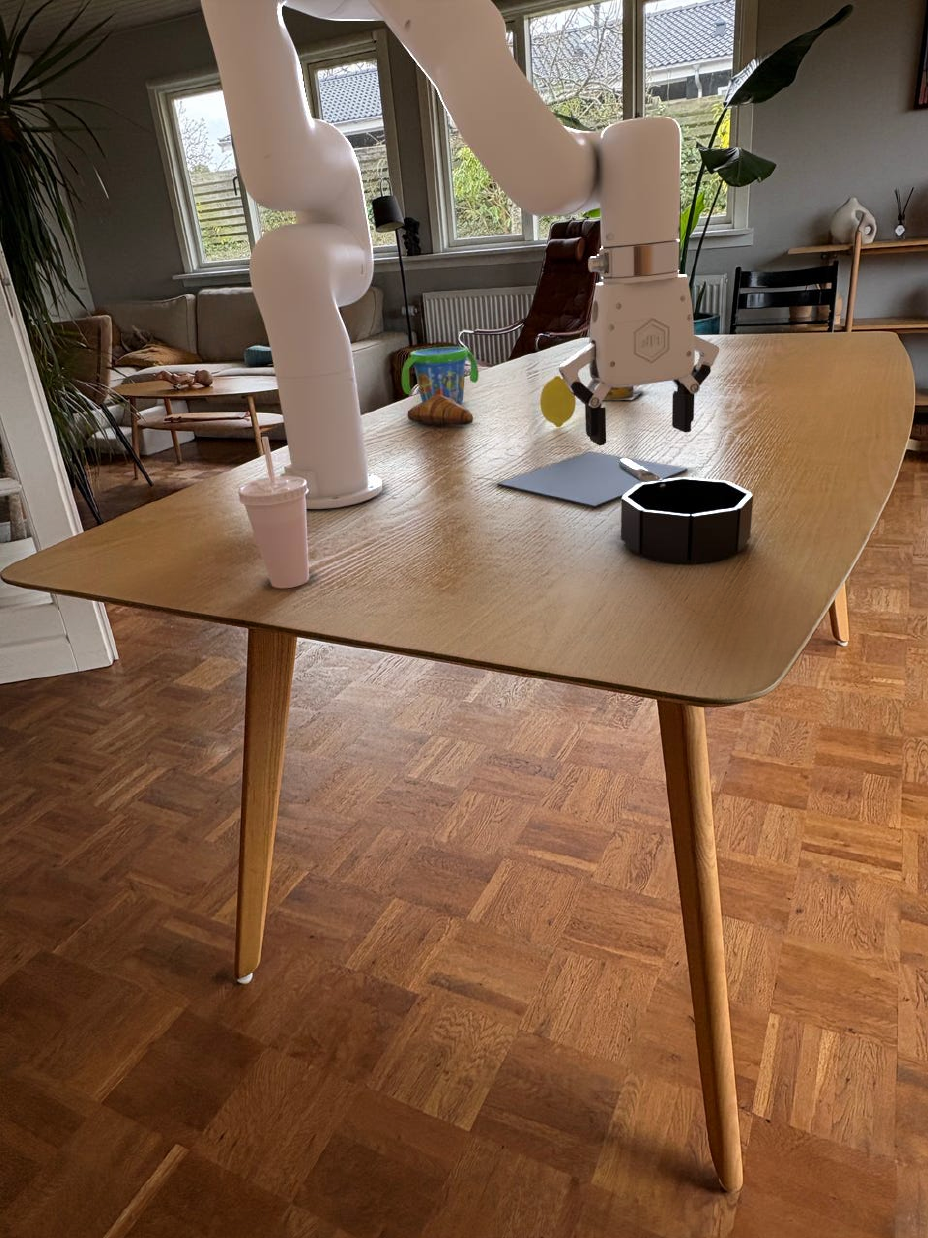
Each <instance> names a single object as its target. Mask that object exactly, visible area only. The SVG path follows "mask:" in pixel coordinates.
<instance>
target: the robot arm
mask: <svg viewBox="0 0 928 1238" xmlns="http://www.w3.org/2000/svg"><path fill="white" fill-rule="evenodd" d="M200 4H201V9H202V13H203V18H204V21H205V25H206V28H207V32H208V35H209V38H210V42H211V45H212V49H213V52H214V57H215V60H216V65H217V68H218V74H219V77H220V83H221V88H222V94H223V99H224V104H225V108H226V113H227V118H228V122H229V127H230V132H231V136H232V141H233V142H232V143H233V146H234V151H235V154H236V160H237V165H238V169H239V174H240V177H241V180H242V183H243V185H244V188H245V190H246V193H247V194H248V196H249V197H250V198H251V199H252V200H253V201H254V202H255V203H256V204H257V205H259V206H261V207H263V208H265V209H268V210H272V211H276V212H294V213H295V218H296V222H297V223H290V224H289V223H288V224H284V225H280V226H279V225H278V226H276V227H274V228H272V229H270V230H268V231H267V232H265V233H264V234H262V236H261V237H260V238H259V239H258V240H257V242H256V243H255V244H254V247H253V248H252V251H251V254H250V258H249V265H248V267H249V270H248V271H249V279H250V280H249V281H250V284H251V289H252V292H253V295H254V298H255V302H256V304H257V307H258V310H259V313H260V316H261V318H262V322H263V324H264V328H265V331H266V335H267V340H268V343H269V344H268V345H269V348H270V353H271V359H272V363H273V369H274V376H275V379H276V383H277V385H276V386H277V391H278V396H279V401H280V408H281V413H282V419H283V426H284V430H285V431H284V432H285V436H286V441H287V442H286V443H287V448H288V453H289V454H288V455H289V459H290V464H288V465H284V466H283V469H284V472H283V473H281V474H280V475H279V476H296V477H301V478H303V479H305V480H306V483H307V488H308V493H307V494H306V495H305V499H306V510H324V509H325V510H327V509H335V508H342V507H348V506H349V507H350V506H353V505H357V504H360V503H363V502H366V501H368V500H371V499H373V498H376V496H377V497H378V495H380V494H381V493H382V490H383V483H382V479H381V478H379V477H378V476H376V475H374V474H369V467H368V459H367V452H366V445H365V437H364V429H363V423H362V415H361V407H360V400H359V392H358V384H357V377H356V370H355V364H354V362H355V361H354V355H353V350H352V344H351V340H350V336H349V334H348V331H347V328H346V325H345V323H344V320H343V318H342V315H341V313H340V310H339V308H341V307H344V306H348V305H351V304H353V303H355V302H357V301H359V300H360V299H361V298H362V297H364V295H366V293H367V291H368V290H369V289H370V288H369V287H370V286H371V284H372V280H373V277H374V271H375V269H374V267H375V262H374V260H375V259H374V250H373V242H372V237H371V236H372V235H371V230H370V225H369V219H368V218H369V217H368V212H367V205H366V199H365V198H366V197H365V193H364V188H363V187H364V186H363V181H362V175H361V171H360V166H359V162H358V159H357V157H356V154H355V151H354V149H353V147H352V145H351V143H350V142H349V140H348V138H347V137H346V136H345V134H343V132H342V131H341V130H340V129H338V128H337V127H336V126H334V125H333V124H332V123H329V122H327V121H325V120H322V119H319V118H314V117H312V116H311V112H310V109H309V105H308V101H307V97H306V92H305V87H304V81H303V73H302V67H301V64H300V60H299V55H298V54H297V50H296V47H295V45H294V42H293V40H292V38H291V36H290V33H289V31H288V29H287V27H286V24H285V22H284V18H283V15H282V14H283V13H282V7H283V6H285V7H287V8H289V9H292V10H295V11H299V12H301V13H303V14H306V15H309V16H311V17H315V18H318V19H322V20H328V21H329V20H330V21H376V22H378V21H379V22H380V21H382V22H384V23H385V24H386V25H387V27H388V28H389V29H390V30H391V32H392V33H393V34H394V35H395V37H396V38H397V39H398V40H399V42H400V43H401V44H402V46H403V47H404V48H405V50H406V51H407V52H408V53H409V55H410V56H411V57H412V59H413V60H414V61H415V62H416V64H417V65H418V66H419V67H420V69H421V70H422V72H423V73H424V75H426V77H427V78H428V80H430V82H431V84H433V86H434V87H435V89H436V90H437V91H436V92H437V93H438V95H439V98H440V101H441V102H442V103H441V104H442V105H443V106H444V108H445V109H446V112H447V113H448V115H449V117H450V119H451V121H452V122H453V125H454V127H455V128H456V130H457V132H458V134H459V135H460V136H461V139H462V140H463V142H464V143H465V144H466V145H467V147H468V148H469V150H470V151H471V153H472V154H473V155H474V157H475V158H476V160H478V162H479V163H480V164H481V165H482V166H483V168H484V169H485V171H486V172H487V173H488V174H489V175H490V177H491V178H492V180H494V182H495V183H496V184H497V186H498V187H499V188H500V189H501V191H502V192H503V194H505V195H506V196H507V197H508V199H509V200H510V201H511V202H512V203H513V204H514V205H515V206H517V207H518V208H519V209H520V210H522V211H524V212H525V213H527V214H529V215H533V216H536V217H569V216H574V215H578V214H582V213H585V212H586V213H587V212H589V211H592V210H597V209H600V210H599V211H600V212H599V213H600V214H599V215H600V247H601V248H599V249H598V254H596V255H595V256H590V257H589V258H588V260H587V267H588V271H589V272H590V273H593V272H596V273H599V278H601V282H597V283H595V288H594V292H593V300H592V304H591V305H592V306H591V312H590V321H589V341H588V345H587V346H585V347H584V348H583V349H581V350H579V351H578V352H577V353H576V354H574V355H572V356H571V357H570V358H568V359H567V360H566V361H564V362H563V363H561V364H560V366H559V367H558V372H559V374H560V375H561V376H560V377H561V378H562V379H564V381H565V383H566V384H567V386H568V389H569V390H570V391H571V392H572V393H573V394H574V395H575V398H577V399H578V400H579V401H580V402H581V403H582V404H583V405H584V414H585V415H584V416H585V419H584V420H585V433H586V436H587V437H589V440H590V442H592V443H593V444H596V445H598V447H599V446H604V445H605V444H606V443H607V410H606V407H605V406H602V402H603V401H604V400H603V399H604V398H605V396H606V395H607V393H608V392H609V391H610V389H611V388H612V387H615V388H620V387H629V386H634V387H635V386H644V385H650V384H657V383H664V382H673V384H674V385H675V386H676V390H673V393H672V406H671V407H672V409H671V410H672V411H671V412H672V413H671V415H672V416H671V426H672V428H673V429H675V430H678V431H681V432H683V433H685V434H686V433H690V432H691V431H692V423H693V422H694V419H695V394H697V393H698V392H699V391H700V388H701V385H702V384H703V383H704V382H705V380H706V379H707V378H708V377H709V375H710V374H711V372H712V367H714V366H713V365H714V364H715V361H716V359H717V357H718V355H719V353H720V346H718V345H717V344H714V343H712V342H710V341H707V340H706V339H704V338H701V337H699V336H697V335H695V326H694V323H695V321H694V312H693V303H692V297H691V289H690V284H689V279H688V275H687V274H680V272H679V271H680V218H681V217H680V215H681V213H680V212H681V211H680V210H681V208H680V207H681V169H682V168H681V167H682V166H681V163H682V161H681V160H682V131H681V127H680V125H679V123H678V122H677V120H675V119H674V118H672V117H669V116H659V115H658V116H657V115H655V116H654V115H653V116H643V117H636V118H630V119H624V120H620V121H617V122H614V123H612V124H609V125H608V126H607V127H606V128H604V130H597V131H596V130H594V131H592V130H591V131H590V130H589V131H587V130H578V129H574V128H570V127H567V126H564V125H563V124H562V122H561V121H560V120H559V119H558V117H557V116H556V115H555V113H554V112H553V111H552V110H551V109H550V107H549V106H548V104H547V103H546V102H545V101H544V99H543V98H542V97H541V96H540V95H539V93H538V92H537V91H536V89H535V88H534V87H533V85H532V83H530V81H529V80H528V78H527V77H526V75H525V74H524V73H523V71H522V69H521V68H520V66H519V64H518V63H517V62H516V60H515V58H514V56H513V54H512V51H511V49H510V47H509V45H508V41H507V26H506V22H505V20H504V17H503V15H502V13H501V12H500V10H499V9H498V8H497V6H496V5H495V4H494V2H493V1H492V0H200ZM696 352H697V353H698V355H699V357H698V359H697V363H696V362H695V360H696V359H695V358H696V355H695V354H696ZM586 366H588V368H589V375H590V378H591V380H590V382H589V383H588V385H587V386H586V385H585V384H584V383H582V381H581V379H580V376H579V371H580V370H581V369H583V368H584V367H586Z"/></svg>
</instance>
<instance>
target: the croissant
mask: <svg viewBox="0 0 928 1238" xmlns="http://www.w3.org/2000/svg"><path fill="white" fill-rule="evenodd" d="M407 419H408V420H410V421H411V422H415V423H422V424H428V425H447V426H448V425H449V426H466V425H470V424H472V423H473V421H474V416H473V413H472V412H470V410H469V409H467V408H466V407H465V406H463V405H462V404H461V405H460V404H457V403H456V401H455V400H454V399H451V398H447V397H445V396H442V395H439V394H437V395H435V396H433V397H431V398H429V399H428V400H427V401H426V402H422V401H421V402H420V403H418V404H416V405H414V406H412V407H411V408H410V409H409V410H407Z"/></svg>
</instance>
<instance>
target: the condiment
mask: <svg viewBox="0 0 928 1238" xmlns="http://www.w3.org/2000/svg"><path fill="white" fill-rule="evenodd" d="M634 387H635V386H629V387H620V388H615V387H612V388H611V389H610V391H609V392H608V393H607V395H606V396H605V398H604V399H603V401H623V400H625V401H632V400H634V399H635V398H637V397H638V396H639V395H641V394H642V393H643V392H644V391H645V389H641V390H634Z"/></svg>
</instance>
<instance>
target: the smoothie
mask: <svg viewBox="0 0 928 1238" xmlns="http://www.w3.org/2000/svg"><path fill="white" fill-rule="evenodd" d="M261 442H262V448H263V453H264V457H265V463H266V469H267V473H268V477H263V478H259V479H256V480H252V481H249V482H247V483H245V484H243V485H241V486H240V487H239V488H238V490H237V493H238V496H239V497H238V498H239V499H238V501H239V502H240V503H241V504H243V505H244V508H245V511H246V514H247V517H248V520H249V523H250V525H251V526H250V527H251V528H252V532H253V534H254V537H255V541H256V543H257V546H258V550H259V552H260V556H261V558H262V560H263V564H264V567H265V570H266V572H267V575H268V578H269V581H270V584H271V586H272V587H273V588H276V589H291V588H296V587H299V586H302V585H304V584H306V583H307V582H308V581H309V580H310V567H309V565H310V564H309V546H308V525H307V524H308V523H307V520H308V519H307V509H306V499H305V495H306V494H307V493H308V488H307V483H306V480H305V479H303V478H301V477H296V476H280V475H278V476H277V475H276V474H275V469H274V463H273V457H272V452H271V447H270V443H269V442H270V441H269V437H268V436H262V437H261Z"/></svg>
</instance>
